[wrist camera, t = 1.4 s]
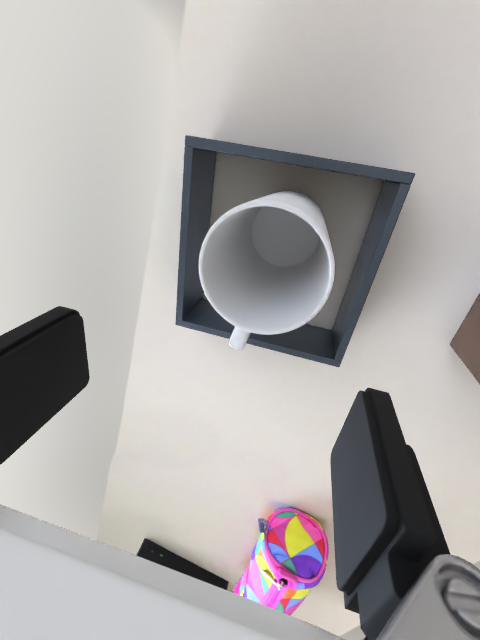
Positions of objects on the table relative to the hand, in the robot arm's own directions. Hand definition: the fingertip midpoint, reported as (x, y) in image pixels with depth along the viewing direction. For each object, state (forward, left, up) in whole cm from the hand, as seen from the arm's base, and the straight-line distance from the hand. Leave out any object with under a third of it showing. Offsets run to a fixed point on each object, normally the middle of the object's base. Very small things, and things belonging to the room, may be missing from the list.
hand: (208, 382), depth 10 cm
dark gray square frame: (0, 0, -19) cm, 19 cm away
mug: (0, 0, -19) cm, 19 cm away
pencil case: (+44, +10, -19) cm, 49 cm away
